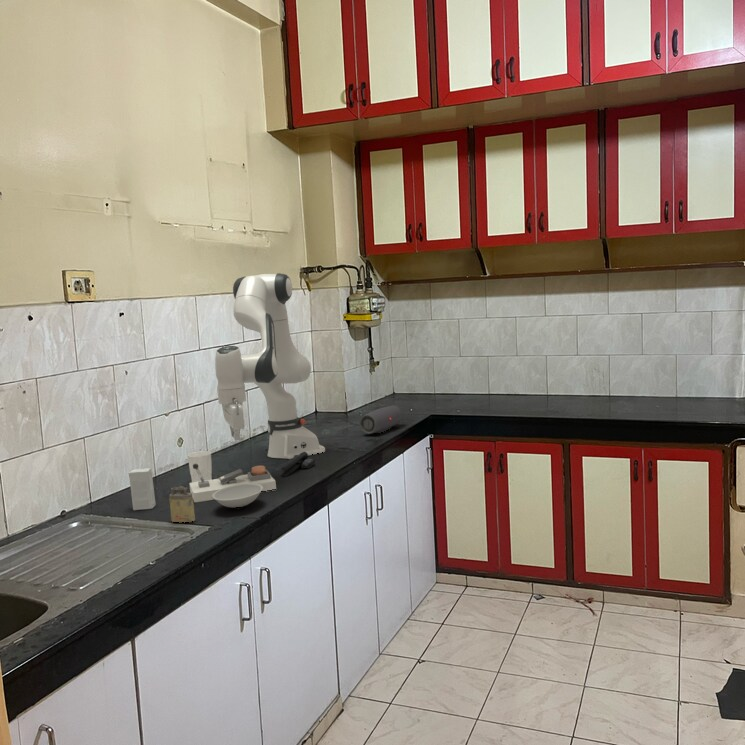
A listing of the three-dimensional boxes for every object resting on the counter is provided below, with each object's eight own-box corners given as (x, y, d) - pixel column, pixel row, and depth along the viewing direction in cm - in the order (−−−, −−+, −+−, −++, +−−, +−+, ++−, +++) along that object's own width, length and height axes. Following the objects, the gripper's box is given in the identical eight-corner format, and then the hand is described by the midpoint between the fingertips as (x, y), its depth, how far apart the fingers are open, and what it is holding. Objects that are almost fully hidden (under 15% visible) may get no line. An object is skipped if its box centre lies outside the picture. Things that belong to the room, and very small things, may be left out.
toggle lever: (205, 479, 241) (196, 462, 239) (206, 481, 239) (197, 463, 237) (200, 482, 240) (191, 464, 239) (201, 483, 238) (192, 465, 237)
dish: (232, 498, 234) (231, 482, 234) (273, 499, 230) (272, 483, 229) (203, 515, 218) (201, 499, 217) (246, 517, 213) (245, 500, 213)
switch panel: (267, 480, 254) (266, 466, 253) (276, 489, 240) (275, 476, 240) (190, 491, 245) (188, 478, 245) (194, 502, 232) (193, 488, 232)
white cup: (204, 477, 263) (201, 450, 262) (218, 480, 258) (215, 452, 257) (185, 483, 257) (182, 455, 256) (199, 486, 252) (197, 457, 251)
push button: (264, 471, 248) (263, 464, 248) (266, 474, 244) (266, 467, 244) (251, 473, 247) (250, 466, 246) (253, 476, 242) (252, 469, 242)
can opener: (301, 464, 274) (299, 449, 273) (317, 465, 270) (316, 450, 270) (273, 477, 258) (272, 461, 257) (290, 478, 255) (289, 462, 254)
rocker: (241, 471, 245) (240, 468, 245) (243, 474, 241) (242, 471, 241) (219, 480, 243) (218, 477, 243) (221, 483, 239) (220, 480, 239)
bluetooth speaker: (377, 437, 311) (376, 414, 310) (359, 436, 316) (357, 413, 315) (404, 426, 330) (402, 404, 329) (386, 425, 335) (384, 403, 334)
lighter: (197, 519, 215) (194, 485, 213) (191, 523, 211) (188, 489, 210) (175, 519, 216) (171, 485, 215) (168, 523, 213) (165, 489, 211)
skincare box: (155, 505, 232) (152, 467, 231) (152, 509, 228) (148, 471, 227) (136, 506, 232) (132, 469, 231) (132, 510, 228) (128, 472, 227)
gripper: (247, 399, 231) (250, 443, 233) (236, 391, 250) (240, 432, 252) (226, 401, 229) (230, 445, 231) (218, 394, 248) (221, 434, 250)
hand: (235, 438), depth 242 cm, fingers open, 4 cm apart
